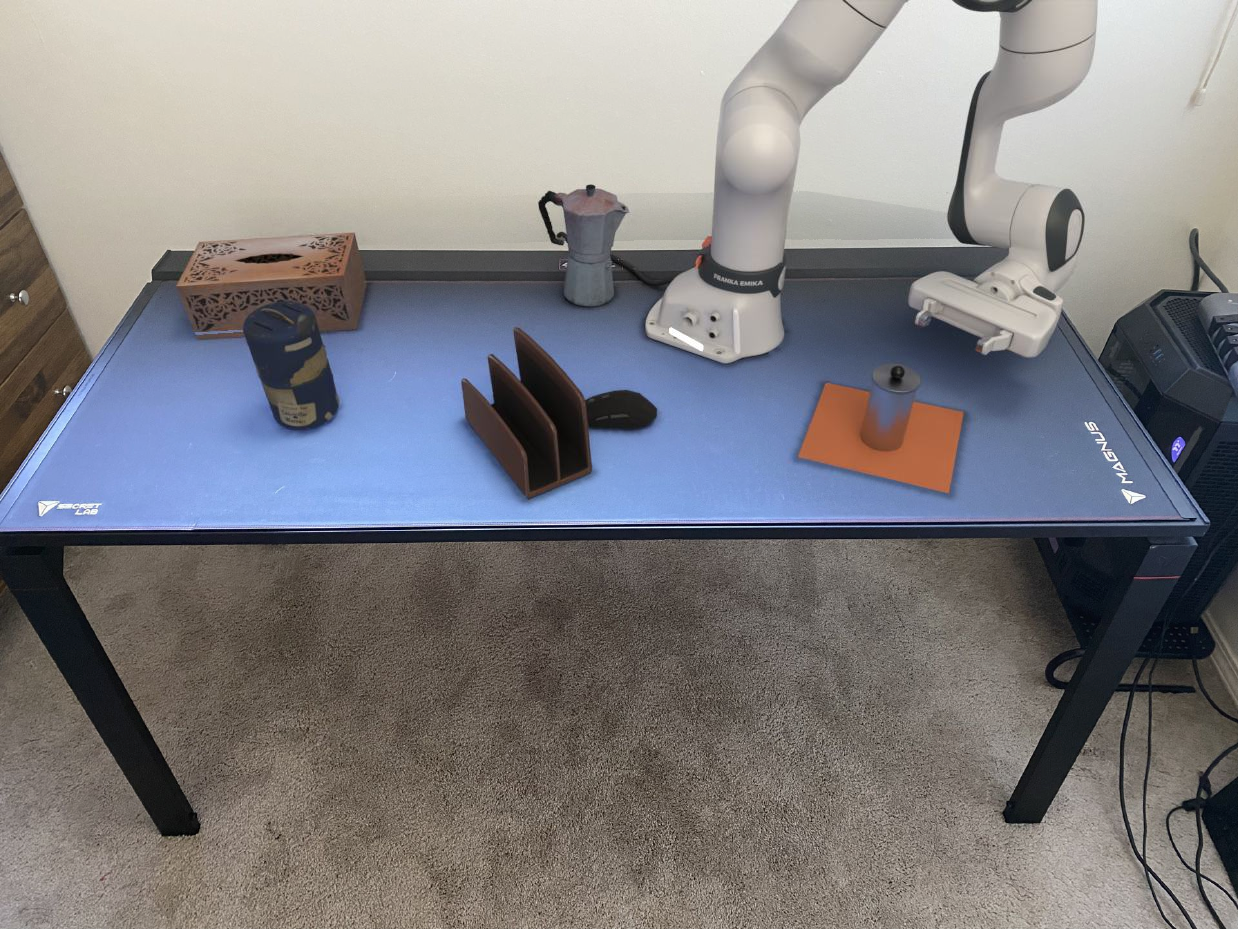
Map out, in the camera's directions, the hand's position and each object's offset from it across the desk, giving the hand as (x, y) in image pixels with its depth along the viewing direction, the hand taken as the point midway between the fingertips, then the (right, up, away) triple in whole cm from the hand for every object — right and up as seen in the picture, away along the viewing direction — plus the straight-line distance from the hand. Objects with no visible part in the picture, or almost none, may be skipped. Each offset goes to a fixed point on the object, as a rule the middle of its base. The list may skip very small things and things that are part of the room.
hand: (949, 334), depth 123 cm
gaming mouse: (-47, -11, +7) cm, 49 cm away
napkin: (-8, -14, +3) cm, 16 cm away
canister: (-91, -11, +8) cm, 92 cm away
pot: (-9, -14, +2) cm, 17 cm away
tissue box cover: (-102, +8, +29) cm, 107 cm away
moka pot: (-51, +12, +32) cm, 61 cm away
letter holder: (-58, -15, +2) cm, 60 cm away
